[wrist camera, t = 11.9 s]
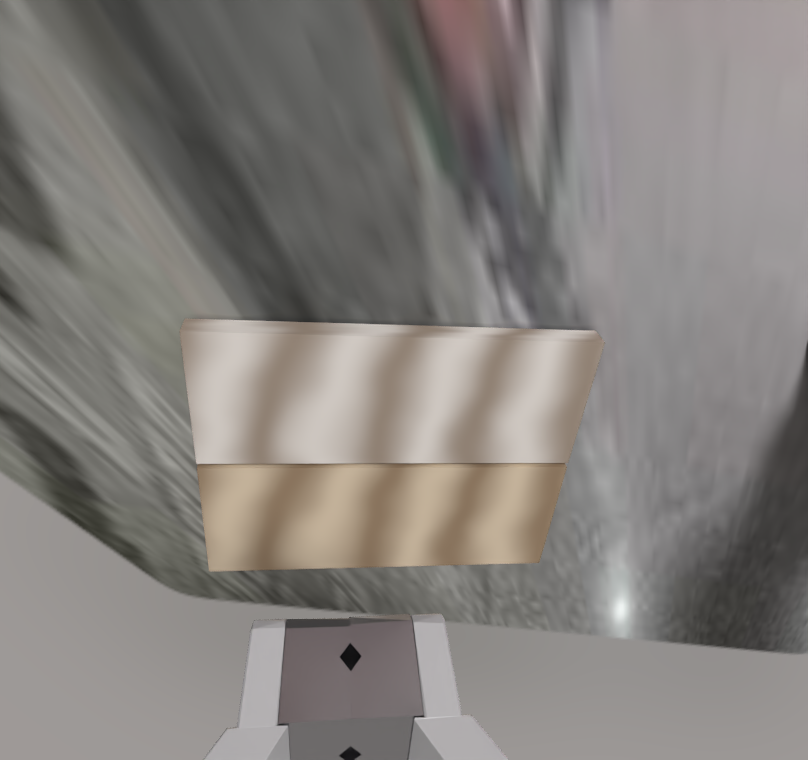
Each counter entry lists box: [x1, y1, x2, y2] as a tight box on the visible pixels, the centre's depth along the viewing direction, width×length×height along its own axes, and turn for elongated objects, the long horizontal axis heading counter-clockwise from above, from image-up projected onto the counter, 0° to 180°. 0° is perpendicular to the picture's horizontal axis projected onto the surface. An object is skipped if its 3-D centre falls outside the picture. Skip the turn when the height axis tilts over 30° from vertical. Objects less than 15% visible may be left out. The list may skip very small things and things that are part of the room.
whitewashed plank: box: [180, 319, 605, 464], centre depth 40 cm, size 26×10×2 cm, turn 85°
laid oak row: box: [197, 463, 567, 571], centre depth 45 cm, size 26×10×2 cm, turn 85°
